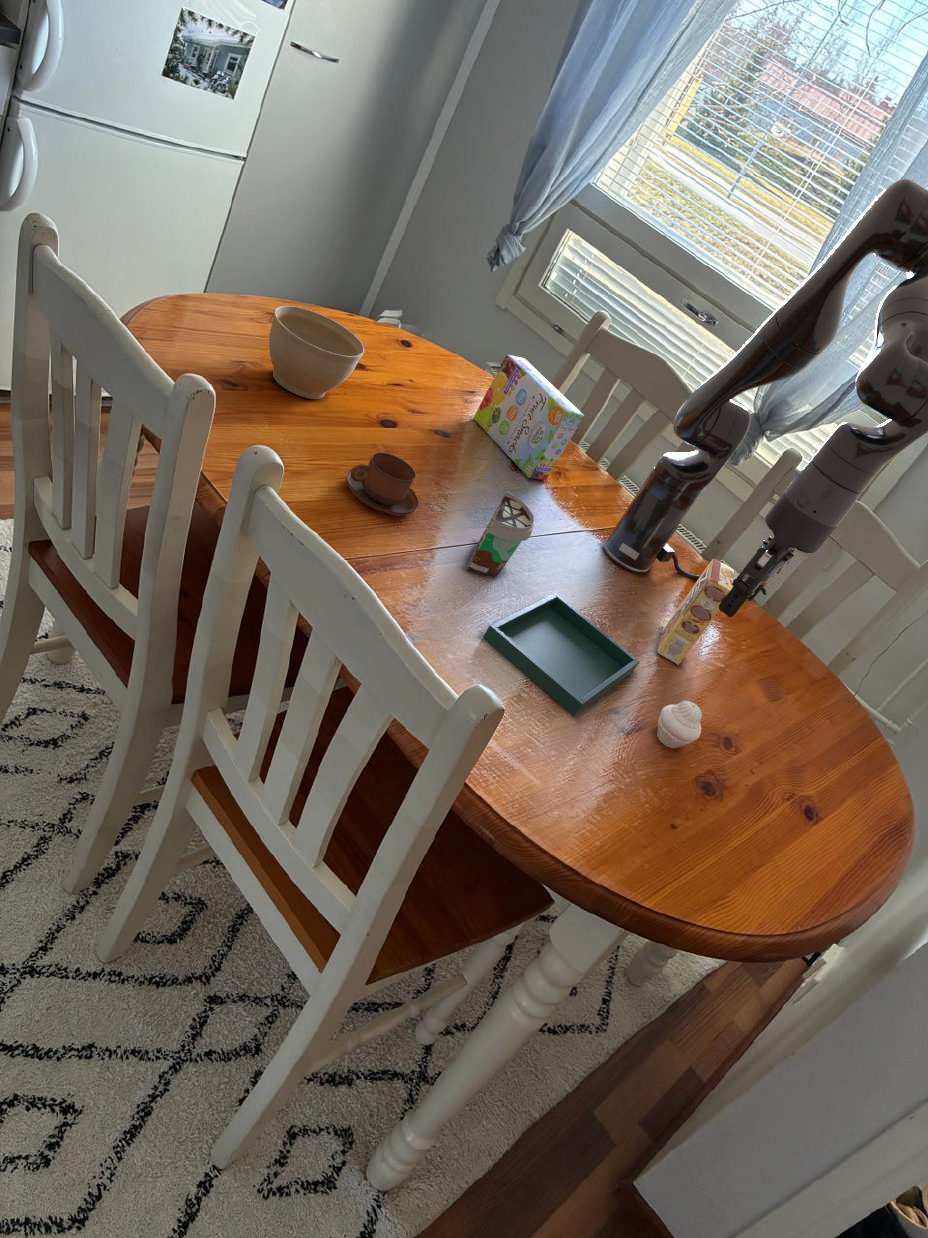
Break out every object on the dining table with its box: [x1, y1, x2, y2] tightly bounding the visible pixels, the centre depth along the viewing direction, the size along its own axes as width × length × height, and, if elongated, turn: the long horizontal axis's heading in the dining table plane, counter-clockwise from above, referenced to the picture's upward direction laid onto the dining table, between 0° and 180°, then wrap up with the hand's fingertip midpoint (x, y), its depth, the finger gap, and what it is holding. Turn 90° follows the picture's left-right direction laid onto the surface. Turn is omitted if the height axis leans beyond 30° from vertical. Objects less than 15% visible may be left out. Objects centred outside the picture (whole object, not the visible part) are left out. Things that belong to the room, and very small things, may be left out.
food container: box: [466, 490, 535, 578], centre depth 144 cm, size 12×6×10 cm, turn 168°
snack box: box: [473, 354, 585, 481], centre depth 183 cm, size 21×6×15 cm, turn 34°
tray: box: [482, 592, 641, 717], centre depth 134 cm, size 20×17×2 cm
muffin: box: [656, 700, 703, 749], centre depth 129 cm, size 6×6×7 cm
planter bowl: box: [268, 305, 365, 400], centre depth 163 cm, size 16×16×11 cm
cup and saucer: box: [346, 452, 420, 517], centre depth 145 cm, size 12×12×6 cm
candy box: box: [657, 558, 735, 666], centre depth 148 cm, size 9×4×15 cm, turn 162°
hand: (735, 603), depth 123 cm, fingers open, 8 cm apart
